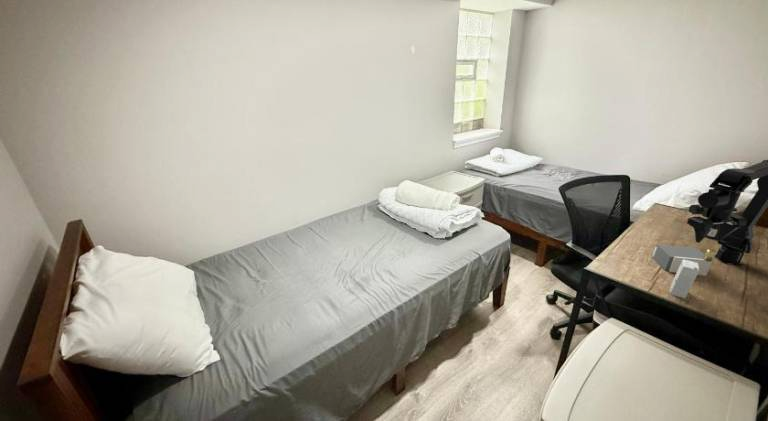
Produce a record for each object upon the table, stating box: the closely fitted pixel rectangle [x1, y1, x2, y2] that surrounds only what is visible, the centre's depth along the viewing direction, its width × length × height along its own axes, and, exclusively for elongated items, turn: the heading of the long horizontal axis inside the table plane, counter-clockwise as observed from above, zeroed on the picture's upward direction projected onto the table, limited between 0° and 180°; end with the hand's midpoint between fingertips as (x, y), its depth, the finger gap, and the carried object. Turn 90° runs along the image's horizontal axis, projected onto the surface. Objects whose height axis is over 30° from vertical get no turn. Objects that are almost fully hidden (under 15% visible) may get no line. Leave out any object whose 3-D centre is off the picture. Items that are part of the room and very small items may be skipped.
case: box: [651, 243, 714, 275], centre depth 126 cm, size 14×10×6 cm
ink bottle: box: [705, 217, 720, 240], centre depth 148 cm, size 10×9×12 cm
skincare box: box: [669, 259, 699, 299], centre depth 110 cm, size 6×4×12 cm
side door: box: [668, 248, 717, 277], centre depth 120 cm, size 12×2×11 cm, turn 76°
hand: (708, 241), depth 120 cm, fingers open, 9 cm apart
